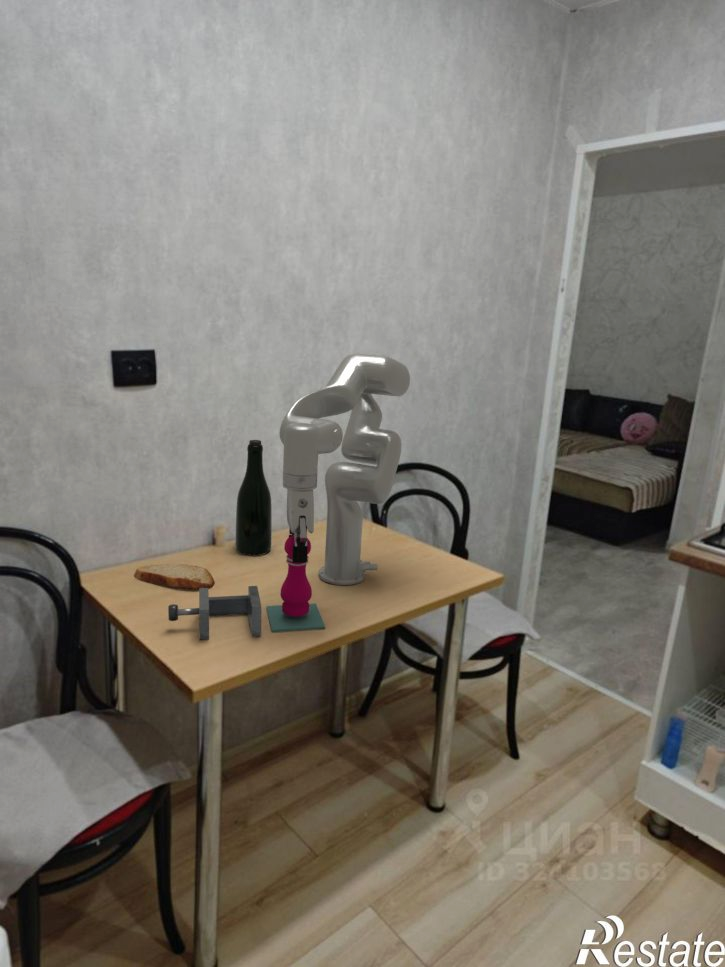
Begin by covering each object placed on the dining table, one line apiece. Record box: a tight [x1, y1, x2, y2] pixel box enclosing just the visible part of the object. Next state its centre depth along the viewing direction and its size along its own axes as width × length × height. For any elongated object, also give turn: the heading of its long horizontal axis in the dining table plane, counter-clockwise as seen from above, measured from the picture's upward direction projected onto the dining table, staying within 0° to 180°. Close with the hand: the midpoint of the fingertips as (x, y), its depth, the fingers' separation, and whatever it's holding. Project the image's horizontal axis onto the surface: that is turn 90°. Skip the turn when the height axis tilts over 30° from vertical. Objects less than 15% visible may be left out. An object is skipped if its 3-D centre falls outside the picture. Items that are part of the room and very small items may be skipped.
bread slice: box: [133, 563, 215, 591], centre depth 166 cm, size 18×18×4 cm
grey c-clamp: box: [167, 585, 262, 641], centre depth 143 cm, size 20×13×7 cm, turn 104°
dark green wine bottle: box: [234, 439, 273, 556], centre depth 186 cm, size 10×10×33 cm
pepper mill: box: [279, 529, 313, 617], centre depth 147 cm, size 7×7×20 cm
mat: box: [265, 603, 326, 633], centre depth 149 cm, size 12×12×1 cm
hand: (297, 556), depth 146 cm, fingers closed on pepper mill, 6 cm apart
